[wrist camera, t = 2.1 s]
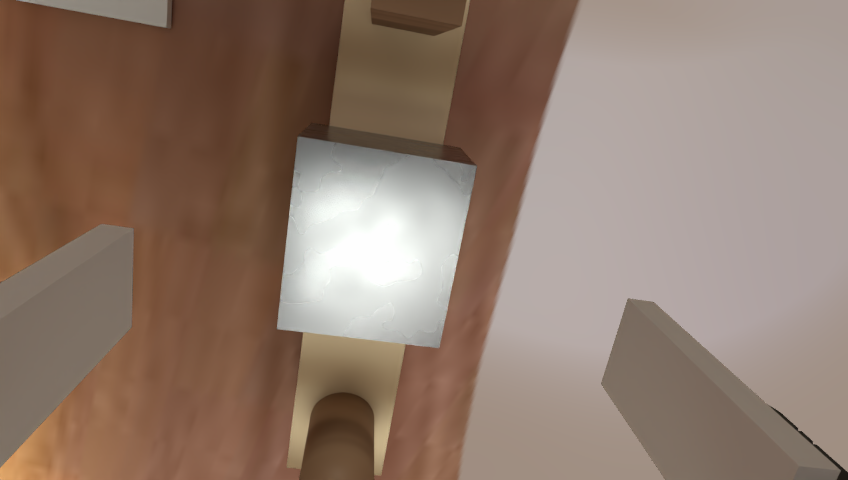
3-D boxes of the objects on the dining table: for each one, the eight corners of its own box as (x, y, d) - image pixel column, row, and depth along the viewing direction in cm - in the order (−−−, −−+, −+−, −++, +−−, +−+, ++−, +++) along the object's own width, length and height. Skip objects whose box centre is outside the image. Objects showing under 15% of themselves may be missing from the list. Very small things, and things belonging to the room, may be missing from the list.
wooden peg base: (379, 403, 33) (382, 610, 21) (301, 395, 32) (257, 603, 20) (466, -81, 25) (553, -213, 13) (366, -104, 25) (357, -265, 12)
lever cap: (429, 303, 24) (438, 347, 21) (292, 285, 24) (276, 329, 20) (459, 147, 22) (477, 165, 19) (311, 122, 22) (297, 136, 18)
